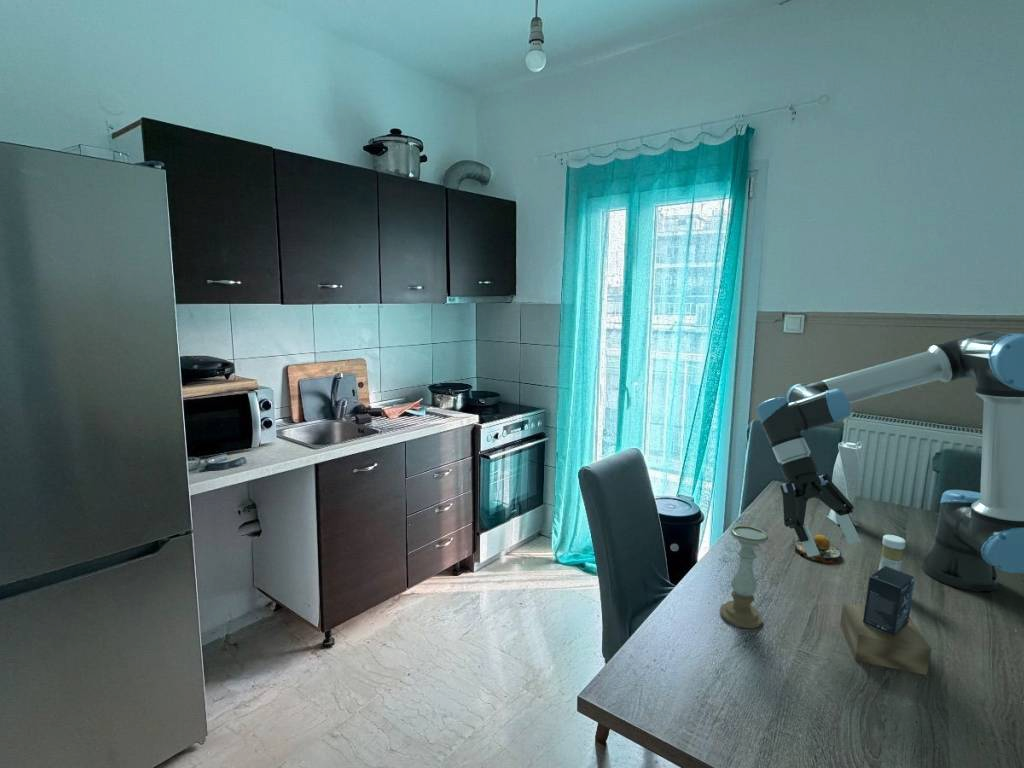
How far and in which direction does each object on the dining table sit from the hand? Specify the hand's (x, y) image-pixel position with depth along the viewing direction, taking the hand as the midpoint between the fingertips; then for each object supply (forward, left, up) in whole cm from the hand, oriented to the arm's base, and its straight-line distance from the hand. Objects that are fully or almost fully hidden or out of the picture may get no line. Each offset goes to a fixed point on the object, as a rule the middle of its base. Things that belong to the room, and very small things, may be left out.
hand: (835, 549), depth 121 cm
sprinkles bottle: (-19, -13, -15) cm, 28 cm away
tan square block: (-5, +13, -15) cm, 21 cm away
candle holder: (+21, +7, -15) cm, 27 cm away
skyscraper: (-26, -55, -15) cm, 63 cm away
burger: (-9, -30, -15) cm, 35 cm away
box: (-5, +13, -10) cm, 17 cm away
